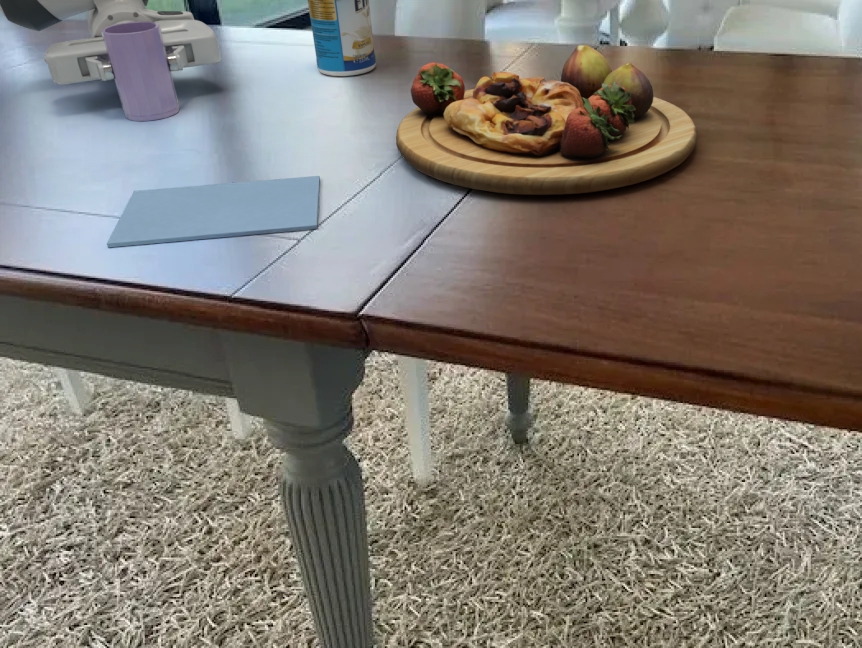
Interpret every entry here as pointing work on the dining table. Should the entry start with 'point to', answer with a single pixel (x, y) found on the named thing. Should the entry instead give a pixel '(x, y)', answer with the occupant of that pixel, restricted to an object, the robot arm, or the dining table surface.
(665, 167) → the wooden plate
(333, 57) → the beverage bottle
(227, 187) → the light blue flat slab
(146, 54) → the cup
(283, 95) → the dining table surface
